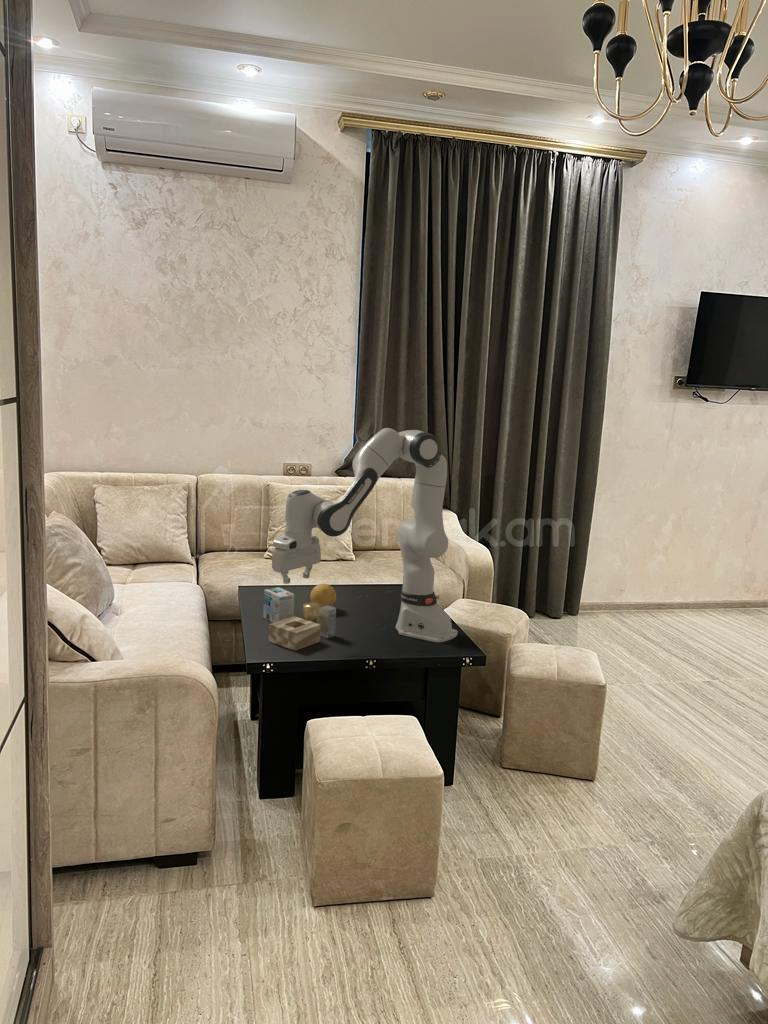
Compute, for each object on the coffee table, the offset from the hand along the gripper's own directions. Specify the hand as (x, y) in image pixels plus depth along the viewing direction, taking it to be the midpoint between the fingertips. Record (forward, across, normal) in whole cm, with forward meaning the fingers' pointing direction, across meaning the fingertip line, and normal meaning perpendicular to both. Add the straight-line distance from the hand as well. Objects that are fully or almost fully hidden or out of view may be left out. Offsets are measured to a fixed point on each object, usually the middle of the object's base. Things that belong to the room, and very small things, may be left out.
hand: (296, 580), depth 250 cm
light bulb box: (+21, -12, -19) cm, 31 cm away
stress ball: (+21, -33, -16) cm, 42 cm away
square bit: (+21, -12, +4) cm, 25 cm away
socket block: (+21, 0, 0) cm, 21 cm away
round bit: (+21, -15, -6) cm, 27 cm away
